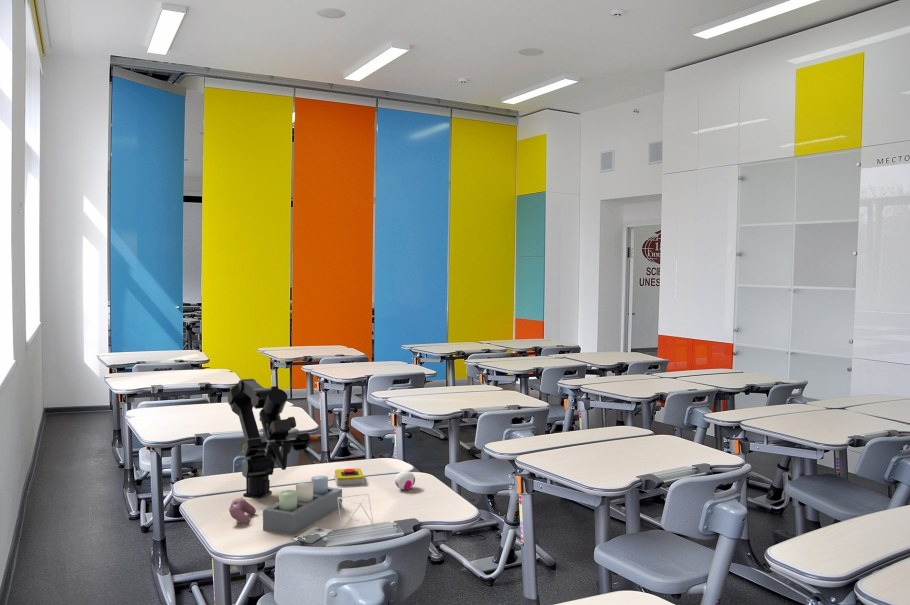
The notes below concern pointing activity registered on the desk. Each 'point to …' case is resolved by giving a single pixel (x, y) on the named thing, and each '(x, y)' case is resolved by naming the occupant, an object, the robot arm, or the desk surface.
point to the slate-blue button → (320, 485)
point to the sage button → (288, 500)
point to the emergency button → (349, 477)
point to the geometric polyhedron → (356, 509)
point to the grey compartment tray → (301, 513)
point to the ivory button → (304, 492)
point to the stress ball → (405, 480)
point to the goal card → (313, 532)
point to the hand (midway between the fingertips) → (284, 469)
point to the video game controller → (241, 510)
